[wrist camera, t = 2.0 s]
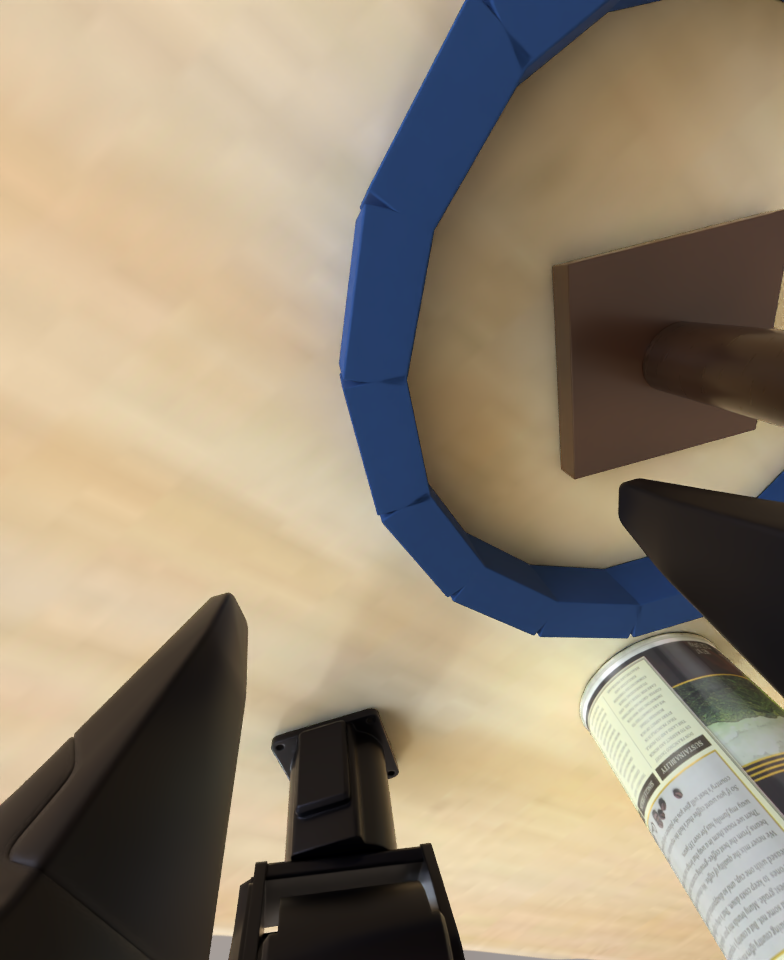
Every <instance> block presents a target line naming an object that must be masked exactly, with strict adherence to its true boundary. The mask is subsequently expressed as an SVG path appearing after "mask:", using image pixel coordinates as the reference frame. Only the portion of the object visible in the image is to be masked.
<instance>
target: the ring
mask: <svg viewBox="0 0 784 960" xmlns="http://www.w3.org/2000/svg"><path fill="white" fill-rule="evenodd" d="M655 1H660V0H465V2H464V4H463V6H462V8H461V10H460V11H459V13H458V15H457V17H456V19H455V21H454V23H453V25H452V27H451V29H450V31H449V33H448V35H447V37H446V39H445V41H444V43H443V45H442V46H441V48H440V50H439V52H438V54H437V56H436V58H435V60H434V62H433V64H432V66H431V68H430V70H429V72H428V74H427V76H426V78H425V79H424V81H423V83H422V85H421V87H420V89H419V91H418V93H417V95H416V97H415V99H414V101H413V103H412V105H411V107H410V109H409V111H408V112H407V114H406V116H405V118H404V120H403V122H402V124H401V126H400V128H399V130H398V132H397V134H396V136H395V138H394V140H393V142H392V144H391V146H390V147H389V149H388V151H387V153H386V155H385V157H384V159H383V161H382V163H381V165H380V167H379V169H378V171H377V173H376V175H375V177H374V179H373V180H372V182H371V184H370V186H369V188H368V190H367V193H366V195H365V197H364V199H363V201H362V204H361V206H360V209H361V212H360V214H359V216H358V218H357V220H356V225H355V233H354V242H353V250H352V259H351V267H350V276H349V284H348V292H347V301H346V309H345V318H344V326H343V335H342V343H341V352H340V360H339V365H340V369H341V373H340V378H341V383H342V388H343V392H344V395H345V399H346V403H347V406H348V410H349V414H350V417H351V421H352V424H353V428H354V432H355V435H356V439H357V442H358V446H359V450H360V453H361V457H362V460H363V464H364V468H365V471H366V475H367V479H368V482H369V486H370V489H371V493H372V497H373V500H374V504H375V507H376V511H377V514H378V515H380V517H381V521H382V523H383V524H384V525H385V526H386V528H387V529H388V530H389V531H390V532H391V533H392V534H393V536H394V537H395V538H396V539H397V540H398V541H399V542H400V544H401V545H402V546H403V547H404V548H405V549H406V550H407V552H408V553H409V554H410V555H411V556H412V557H413V559H414V560H415V561H416V562H417V563H418V564H419V565H420V567H421V568H422V569H423V570H424V571H425V572H426V573H427V575H428V576H429V577H430V578H431V579H432V580H433V581H434V583H435V584H436V585H437V586H438V587H439V588H440V589H441V591H442V592H443V593H444V594H445V595H446V596H447V597H449V596H451V598H452V600H453V601H454V602H456V603H459V604H461V605H463V606H466V607H468V608H470V609H473V610H475V611H477V612H480V613H482V614H484V615H487V616H489V617H491V618H494V619H496V620H498V621H501V622H503V623H506V624H508V625H510V626H513V627H515V628H517V629H520V630H522V631H524V632H527V633H529V634H531V635H535V634H536V633H538V635H539V636H540V637H577V638H628V637H629V635H630V634H631V635H632V636H633V637H637V636H640V635H644V634H647V633H650V632H654V631H657V630H661V629H664V628H667V627H671V626H674V625H677V624H681V623H684V622H688V621H691V620H694V619H698V618H701V617H704V616H703V615H702V614H701V613H700V612H699V611H698V610H697V609H696V608H695V607H694V606H693V605H692V604H691V603H690V602H689V601H688V600H687V599H686V598H685V597H684V596H683V595H682V594H681V593H680V592H679V591H678V590H677V589H676V588H675V587H674V586H673V585H672V584H671V583H670V582H669V581H668V580H667V579H666V577H665V576H664V575H663V574H662V573H661V572H660V571H659V570H658V568H657V567H656V566H655V565H654V564H653V562H652V561H651V560H650V559H649V557H644V558H641V559H637V560H634V561H630V562H627V563H623V564H620V565H616V566H613V567H609V568H606V569H595V568H577V567H559V566H541V565H529V564H527V563H526V562H524V561H522V560H520V559H518V558H516V557H514V556H512V555H510V554H508V553H506V552H504V551H502V550H500V549H498V548H496V547H494V546H492V545H490V544H488V543H486V542H484V541H482V540H480V539H478V538H476V537H474V536H472V535H470V534H468V533H466V532H465V531H464V530H463V528H462V527H461V526H460V525H459V523H458V522H457V521H456V519H455V518H454V517H453V515H452V514H451V513H450V511H449V510H448V509H447V507H446V506H445V505H444V503H443V502H442V501H441V499H440V498H439V497H438V495H437V494H436V493H435V491H434V490H433V489H432V488H431V486H430V485H429V484H428V480H427V475H426V470H425V465H424V461H423V456H422V451H421V446H420V441H419V436H418V431H417V426H416V422H415V417H414V412H413V407H412V402H411V397H410V392H409V388H408V383H407V377H408V372H409V366H410V361H411V355H412V350H413V344H414V339H415V333H416V328H417V322H418V317H419V311H420V306H421V300H422V295H423V290H424V284H425V279H426V273H427V268H428V262H429V257H430V251H431V246H432V240H433V235H434V230H435V228H436V227H437V225H438V223H439V221H440V220H441V218H442V216H443V214H444V213H445V211H446V209H447V207H448V206H449V204H450V202H451V201H452V199H453V197H454V195H455V194H456V192H457V190H458V188H459V187H460V185H461V183H462V181H463V180H464V178H465V176H466V174H467V173H468V171H469V169H470V167H471V166H472V164H473V162H474V161H475V159H476V157H477V155H478V154H479V152H480V150H481V148H482V147H483V145H484V143H485V141H486V140H487V138H488V136H489V134H490V133H491V131H492V129H493V127H494V126H495V124H496V122H497V121H498V119H499V117H500V115H501V114H502V112H503V110H504V108H505V107H506V105H507V103H508V101H509V100H510V98H511V96H512V94H513V93H514V91H515V89H516V87H517V86H519V85H520V84H521V83H522V82H523V81H525V80H526V79H527V78H528V77H530V76H531V75H532V74H533V73H534V72H536V71H537V70H538V69H539V68H541V67H542V66H543V65H544V64H545V63H547V62H548V61H549V60H550V59H551V58H553V57H554V56H555V55H556V54H558V53H559V52H560V51H561V50H562V49H564V48H565V47H566V46H567V45H569V44H570V43H571V42H572V41H573V40H575V39H576V38H577V37H578V36H579V35H581V34H582V33H583V32H584V31H586V30H587V29H588V28H589V27H590V26H592V25H593V24H594V23H595V22H597V21H598V20H599V19H600V18H601V17H603V16H604V15H605V14H606V13H607V12H611V11H615V10H620V9H624V8H629V7H633V6H638V5H642V4H647V3H651V2H655ZM781 1H784V0H781ZM758 498H760V499H766V500H772V501H778V502H784V471H783V472H782V473H781V474H780V475H779V476H778V477H777V478H776V479H775V480H774V481H773V482H772V483H771V484H770V485H769V486H768V487H767V488H766V489H765V490H764V491H763V492H762V493H761V494H760V495H759V497H758Z"/></svg>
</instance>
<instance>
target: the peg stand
mask: <svg viewBox="0 0 784 960" xmlns="http://www.w3.org/2000/svg"><path fill="white" fill-rule="evenodd" d="M552 270H553V293H554V315H555V337H556V360H557V382H558V404H559V427H560V449H561V469H562V470H563V471H564V472H565V473H567V474H568V475H569V476H571V477H572V478H573V479H578V478H581V477H585V476H589V475H592V474H596V473H599V472H603V471H607V470H610V469H614V468H618V467H621V466H625V465H628V464H632V463H636V462H639V461H643V460H646V459H650V458H654V457H657V456H661V455H665V454H668V453H672V452H675V451H679V450H683V449H686V448H690V447H694V446H697V445H701V444H704V443H708V442H712V441H715V440H719V439H723V438H726V437H730V436H733V435H737V434H741V433H744V432H748V431H751V430H755V429H756V424H757V420H761V421H764V422H767V423H771V424H774V425H777V426H781V427H784V330H781V329H773V327H774V322H775V316H776V310H777V305H778V299H779V293H780V288H781V282H782V276H783V271H784V209H781V210H775V211H770V212H764V213H760V214H756V215H752V216H748V217H744V218H740V219H736V220H732V221H728V222H724V223H720V224H716V225H713V226H709V227H705V228H701V229H697V230H693V231H689V232H685V233H681V234H677V235H673V236H669V237H665V238H661V239H657V240H653V241H649V242H645V243H641V244H637V245H633V246H629V247H625V248H621V249H617V250H613V251H609V252H605V253H601V254H597V255H593V256H589V257H585V258H581V259H577V260H573V261H569V262H565V263H561V264H558V265H554V266H553V267H552Z"/></svg>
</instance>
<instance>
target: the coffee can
mask: <svg viewBox="0 0 784 960" xmlns="http://www.w3.org/2000/svg"><path fill="white" fill-rule="evenodd" d="M580 716H581V719H582V722H583V725H584V726H585V727H586V729H587V730H588V731H589V732H590V734H591V735H592V737H593V738H594V740H595V742H596V743H597V745H598V747H599V748H600V750H601V751H602V753H603V755H604V756H605V758H606V760H607V761H608V763H609V765H610V766H611V768H612V770H613V771H614V773H615V775H616V776H617V778H618V780H619V781H620V783H621V785H622V786H623V788H624V790H625V791H626V793H627V795H628V796H629V798H630V800H631V801H632V803H633V805H634V806H635V808H636V810H637V811H638V813H639V814H640V816H641V818H642V820H643V821H644V823H645V824H646V826H647V828H648V830H649V831H650V833H651V834H652V836H653V838H654V840H655V841H656V843H657V845H658V846H659V848H660V850H661V851H662V853H663V854H664V856H665V858H666V859H667V861H668V863H669V864H670V866H671V868H672V869H673V871H674V873H675V874H676V876H677V878H678V879H679V881H680V882H681V884H682V886H683V887H684V889H685V891H686V892H687V894H688V896H689V897H690V899H691V901H692V902H693V904H694V906H695V907H696V909H697V911H698V912H699V914H700V916H701V918H702V919H703V921H704V922H705V924H706V926H707V927H708V929H709V931H710V932H711V934H712V936H713V937H714V939H715V941H716V942H717V944H718V946H719V947H720V949H721V951H722V952H723V954H724V956H725V957H726V959H727V960H784V710H783V709H782V708H781V707H780V706H779V705H778V704H777V703H776V702H775V701H773V700H772V699H771V698H770V697H769V696H768V695H767V694H766V693H765V692H763V691H762V690H761V689H760V688H759V687H758V686H757V685H756V684H755V683H753V682H752V681H751V680H750V679H749V678H748V677H747V676H746V675H745V674H744V673H743V672H742V671H741V670H739V669H738V668H737V667H736V666H735V665H734V664H733V663H732V662H731V661H730V660H728V659H727V658H726V657H725V656H724V655H723V654H722V653H721V652H720V651H719V650H718V649H717V647H716V646H715V645H714V644H713V643H711V642H710V641H709V640H707V639H706V638H704V637H702V636H699V635H696V634H691V633H667V634H661V635H658V636H654V637H651V638H647V639H645V640H642V641H640V642H638V643H635V644H633V645H631V646H630V647H628V648H626V649H624V650H623V651H621V652H620V653H618V654H617V655H615V656H614V657H612V658H611V659H610V660H609V661H607V662H606V663H605V664H604V665H603V666H602V667H601V668H600V669H599V670H598V672H597V673H596V674H595V675H594V676H593V677H592V679H591V680H590V682H589V683H588V684H587V686H586V688H585V691H584V694H583V696H582V698H581V702H580Z"/></svg>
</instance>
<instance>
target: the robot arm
mask: <svg viewBox="0 0 784 960" xmlns="http://www.w3.org/2000/svg"><path fill="white" fill-rule="evenodd" d="M618 514H619V519H620V521H621V523H622V525H623V526H624V527H625V529H626V530H627V531H628V532H629V534H630V535H631V536H632V537H633V539H634V540H635V541H636V542H637V544H638V545H639V546H640V547H641V549H642V550H643V551H644V552H645V554H646V555H647V556H648V557H649V559H650V560H651V561H652V562H653V564H654V565H655V566H656V567H657V568H658V570H659V571H660V572H661V573H662V574H663V575H664V576H665V577H666V579H667V580H668V581H669V582H670V583H671V584H672V585H673V586H674V587H675V588H676V589H677V590H678V591H679V592H680V593H681V594H682V595H683V596H684V597H685V598H686V599H687V600H688V601H689V602H690V603H691V604H692V605H693V606H694V607H695V608H696V609H697V610H698V611H699V612H700V613H701V614H702V615H703V616H704V617H705V618H706V619H707V620H708V621H709V622H710V624H711V625H712V626H713V627H714V628H715V629H716V630H717V631H718V632H719V633H720V634H721V635H722V636H723V637H724V638H725V639H726V640H727V641H728V642H729V643H730V644H731V645H732V646H733V647H734V648H735V649H736V650H737V651H738V652H739V653H740V654H741V655H742V656H743V657H744V658H745V659H746V660H747V661H748V662H749V663H750V664H751V665H752V666H753V667H754V668H755V669H756V670H757V671H758V672H759V673H760V674H761V675H762V676H763V677H764V678H765V679H766V680H767V681H768V682H769V683H770V685H771V686H772V687H773V688H774V689H775V690H776V691H777V692H778V693H779V694H780V695H781V696H782V697H783V698H784V502H778V501H772V500H766V499H760V498H754V497H748V496H742V495H736V494H730V493H724V492H718V491H712V490H706V489H700V488H694V487H688V486H682V485H677V484H671V483H665V482H659V481H653V480H647V479H640V478H639V479H634V480H631V481H627V482H624V483H622V484H621V485H620V487H619V507H618ZM247 647H248V626H247V622H246V619H245V617H244V615H243V613H242V611H241V609H240V607H239V605H238V603H237V601H236V599H235V597H234V596H233V595H232V594H231V593H225V594H221V595H218V596H214V597H212V598H210V599H209V600H208V601H207V602H206V603H205V604H204V605H203V606H202V607H201V608H200V609H199V610H198V611H197V612H196V613H195V614H194V615H193V616H192V617H191V618H190V619H189V620H188V621H187V622H186V623H185V624H184V625H183V626H182V627H181V628H180V629H179V630H178V631H177V632H176V633H175V634H174V635H173V636H172V637H171V638H170V639H169V640H168V641H167V642H166V643H165V644H164V645H163V646H162V647H161V648H160V649H159V650H158V651H157V652H156V653H155V654H154V655H153V656H152V657H151V658H150V659H149V660H148V661H147V662H146V663H145V664H144V665H143V666H142V667H141V668H140V669H139V670H138V671H137V672H136V673H135V674H134V675H133V676H132V677H131V678H130V679H129V680H128V681H127V682H126V683H125V684H124V685H123V686H122V687H121V688H120V689H119V690H118V691H117V692H116V693H115V694H114V695H113V696H112V697H111V698H110V699H109V700H108V701H107V702H106V703H105V704H104V705H103V706H102V707H101V708H100V709H99V710H98V711H97V712H96V713H95V714H94V715H93V716H92V717H91V718H90V719H89V720H88V721H87V722H86V723H85V724H84V725H83V726H82V727H81V728H80V729H79V730H78V731H77V732H76V733H75V734H74V737H71V738H69V739H68V740H67V741H66V742H65V743H64V744H63V745H62V746H61V747H60V748H59V749H58V750H57V751H56V752H55V753H54V754H53V755H52V756H51V757H50V758H49V759H48V760H47V761H46V762H45V763H44V764H43V765H42V766H41V767H40V768H39V769H38V770H37V771H36V772H35V773H34V774H33V775H32V776H31V777H30V778H29V779H28V780H27V781H26V782H25V783H24V784H23V785H22V786H21V787H20V788H18V789H17V790H16V791H15V792H14V793H13V794H12V795H11V796H10V797H9V798H8V799H7V800H6V801H4V802H3V803H2V804H1V805H0V960H209V954H210V947H211V940H212V933H213V926H214V919H215V912H216V905H217V898H218V891H219V884H220V877H221V870H222V863H223V856H224V849H225V842H226V834H227V827H228V820H229V813H230V806H231V799H232V792H233V785H234V778H235V771H236V764H237V757H238V750H239V743H240V736H241V729H242V722H243V715H244V708H245V699H246V685H247ZM271 749H272V751H273V753H274V755H275V756H276V758H277V760H278V762H279V763H280V765H281V767H282V768H283V770H284V772H285V774H286V775H287V777H288V779H289V781H290V788H289V804H288V819H287V835H286V850H285V862H278V863H269V864H267V861H264V862H256V864H255V872H254V877H251V879H250V880H248V881H247V882H245V883H244V884H242V885H240V890H239V898H238V905H237V912H236V919H235V926H234V932H233V938H232V944H231V949H230V954H229V959H228V960H465V958H464V954H463V949H462V944H461V941H460V937H459V933H458V930H457V927H456V923H455V920H454V917H453V913H452V910H451V907H450V904H449V900H448V897H447V894H446V891H445V887H444V884H443V881H442V877H441V874H440V871H439V868H438V864H437V861H436V858H435V854H434V851H433V848H432V845H431V843H426V844H420V847H411V848H402V849H397V844H396V837H395V829H394V822H393V814H392V807H391V800H390V792H389V785H388V779H390V778H393V777H395V776H397V775H398V773H399V771H398V765H397V762H396V759H395V756H394V754H393V751H392V748H391V746H390V743H389V740H388V737H387V735H386V732H385V729H384V726H383V724H382V721H381V718H380V715H379V713H378V711H377V710H376V709H372V708H371V709H366V710H363V711H360V712H356V713H353V714H349V715H346V716H343V717H339V718H336V719H333V720H329V721H326V722H322V723H319V724H316V725H312V726H309V727H305V728H302V729H299V730H295V731H292V732H288V733H285V734H282V735H278V736H276V737H274V738H273V740H272V745H271ZM274 926H278V932H271V933H264V928H266V927H274Z"/></svg>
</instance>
